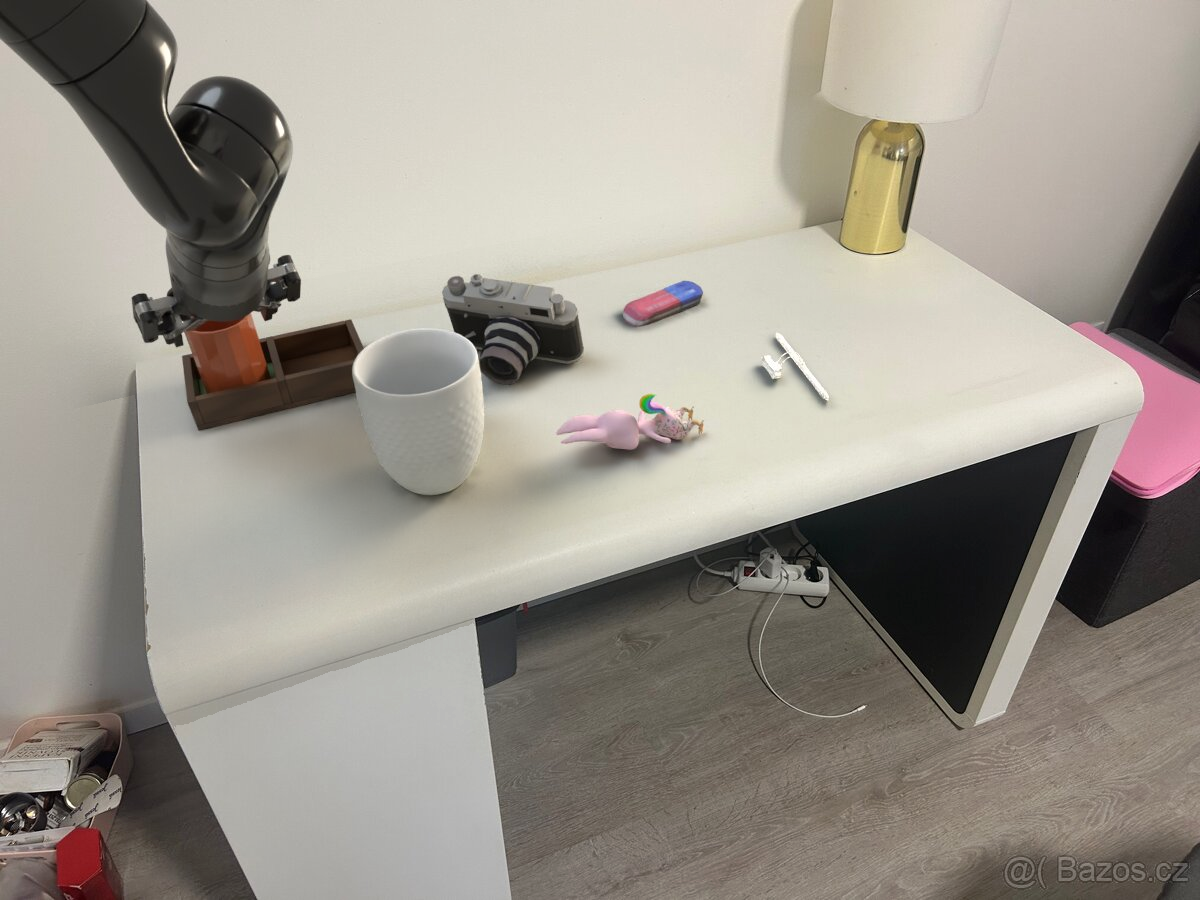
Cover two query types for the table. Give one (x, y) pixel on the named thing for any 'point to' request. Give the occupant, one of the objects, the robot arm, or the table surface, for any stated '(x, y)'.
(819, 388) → the picture light
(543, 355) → the camera
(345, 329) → the holder
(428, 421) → the mug
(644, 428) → the rabbit figure
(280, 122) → the robot arm
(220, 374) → the cup
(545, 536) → the table surface
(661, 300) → the eraser
